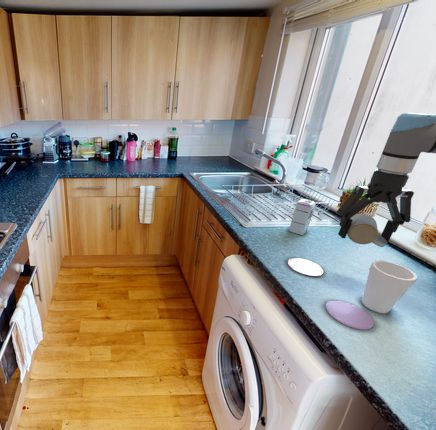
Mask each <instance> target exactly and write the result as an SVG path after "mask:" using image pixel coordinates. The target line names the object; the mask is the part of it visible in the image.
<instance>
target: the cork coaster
mask: <svg viewBox="0 0 436 430" xmlns="http://www.w3.org/2000/svg"><path fill="white" fill-rule="evenodd" d="M287 266H288V267H289V268H290V269H291V270H293V271H294V272H296V273H298V274H300V275H303V276H306V277H311V278H312V277H313V278H317V277H321V276H323V274H324V269H323V268H322V267H321V266H320V265H319V264H318V263H316V262H314V261H312V260H310V259H305V258H302V257H292V258H289V259H288V260H287Z"/></svg>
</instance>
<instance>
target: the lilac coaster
mask: <svg viewBox="0 0 436 430" xmlns="http://www.w3.org/2000/svg"><path fill="white" fill-rule="evenodd" d="M325 310H326V312H327V313H328V315H329V316H330V317H332V318H333V319H334V320H335V321H337V322H338V323H340V324H342V325H344V326H346V327H349V328H352V329H355V330H359V331H368V330H371V329H372V328H373V327H374V326H375V322H374V319H373V318H372V316H371V315H370V314H369V313H368V312H367V311H365V310H364V309H362V308H361V307H359V306H357V305H355V304H352V303H350V302H346V301H342V300H330V301H327V302H326V305H325Z"/></svg>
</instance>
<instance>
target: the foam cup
mask: <svg viewBox="0 0 436 430" xmlns="http://www.w3.org/2000/svg"><path fill="white" fill-rule="evenodd" d="M368 270H369V271H368V276H367V279H366V283H365V286H364V287H365V288H364V290H363V294H362V298H361V304H363V305H364V306H365V307H366V308H367V309H369V310H371V311H373V312H375V313H380V314H388V313H389V312H390V311H391V310H392V309H393V308H394V307H395V305H396V304H397V303H398V301H400V299H401V298H402V297H403V296H404V295H405V294H406V292H407V291H408V290H409V289H410V288H411V287H413V286H414V284H415V282H416V281H417V280H418V276H417V274H416V272H414V271H412V270H411V269H410V268H408V267H405V266H404V265H401V264H398V263H395V262H392V261H388V260H382V259H381V260H374V261H372V262H371V264H370V267H369V269H368Z"/></svg>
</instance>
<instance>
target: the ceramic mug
mask: <svg viewBox="0 0 436 430" xmlns="http://www.w3.org/2000/svg"><path fill="white" fill-rule="evenodd" d="M351 219H352V220H353V221H352V223H351V225H350V228H349V230H348V233H347V235H346V236H347V237H348V239H349V240H350V241H352V242H353V243H355V244H358V245H369V244H373V245H375V246H377V247H380V248H384V247H385V246H386V245H388V243H387V241H386V240H385V239H384V238H383V237H382V236H381V234H380V233H379V229H378V223H377V221H376V220H375V218H374V217H373V216H371V215H369V214H367V213H357V214H355V215H354V216H353V217H351Z"/></svg>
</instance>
